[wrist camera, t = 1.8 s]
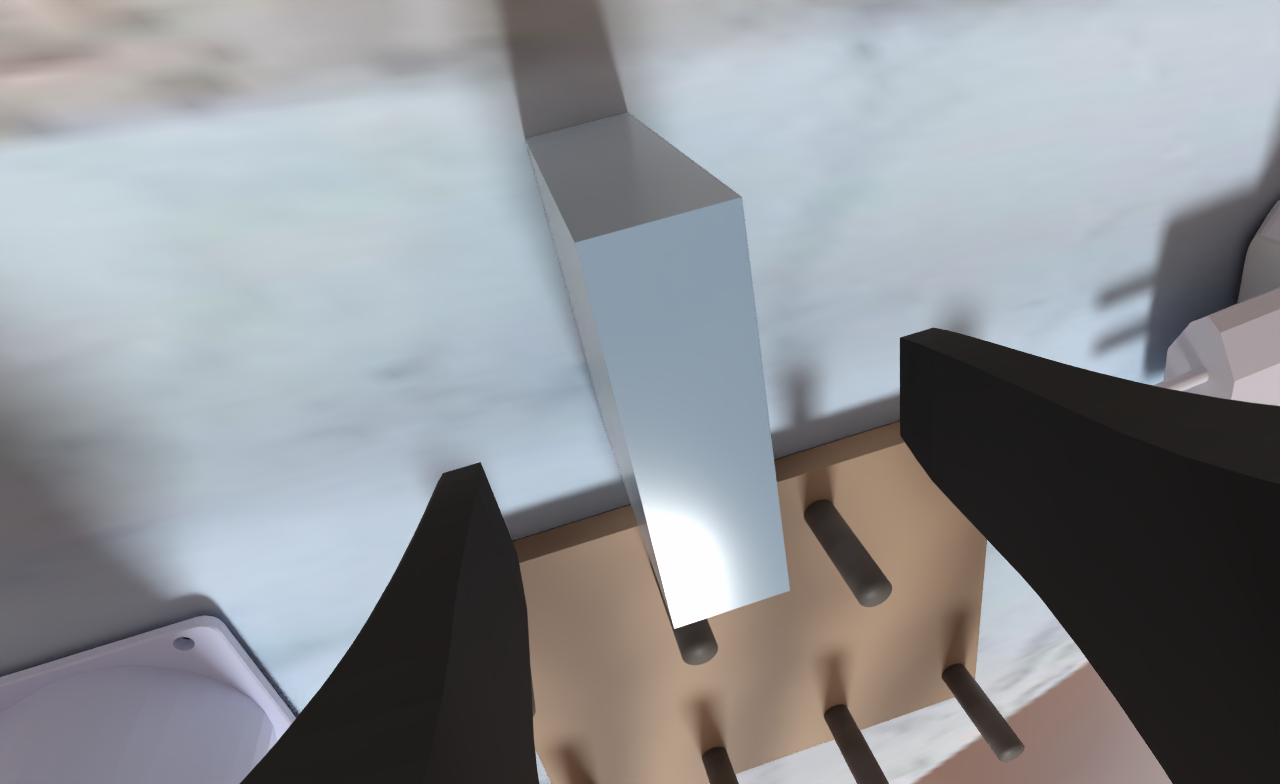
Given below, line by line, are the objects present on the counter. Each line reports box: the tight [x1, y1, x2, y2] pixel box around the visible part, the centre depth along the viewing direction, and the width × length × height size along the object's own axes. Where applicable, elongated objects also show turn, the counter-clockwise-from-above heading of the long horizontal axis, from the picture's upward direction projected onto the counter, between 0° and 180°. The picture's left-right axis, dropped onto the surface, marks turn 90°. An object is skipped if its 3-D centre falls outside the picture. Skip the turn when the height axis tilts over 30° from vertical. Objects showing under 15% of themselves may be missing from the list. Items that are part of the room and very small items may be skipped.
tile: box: [525, 112, 790, 629], centre depth 15 cm, size 2×8×8 cm, turn 11°
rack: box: [512, 421, 1024, 784], centre depth 24 cm, size 17×14×4 cm
